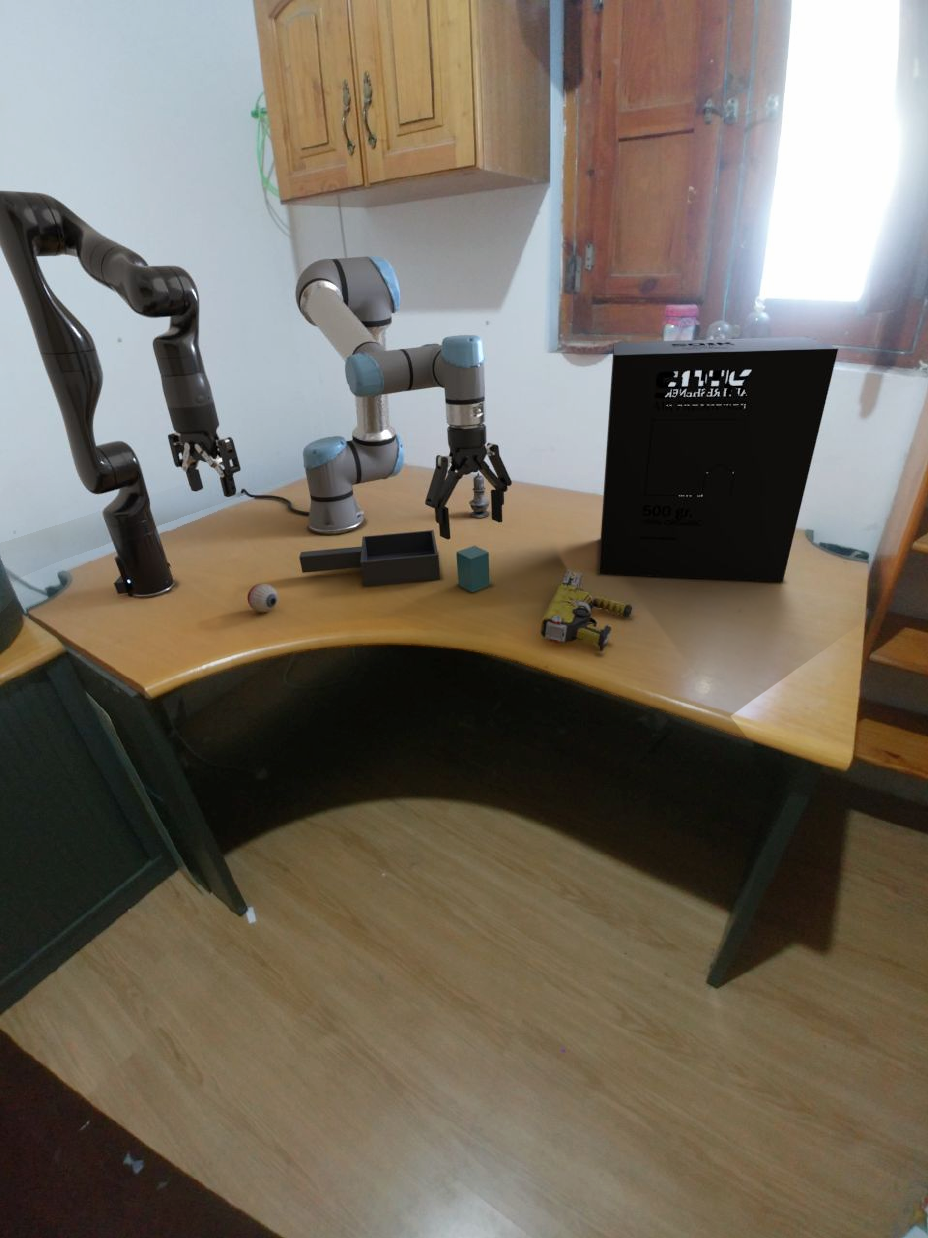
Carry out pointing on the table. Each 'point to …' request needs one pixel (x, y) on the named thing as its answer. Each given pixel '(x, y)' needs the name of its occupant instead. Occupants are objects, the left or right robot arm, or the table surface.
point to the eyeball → (262, 597)
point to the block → (473, 568)
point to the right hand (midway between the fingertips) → (471, 528)
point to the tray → (382, 558)
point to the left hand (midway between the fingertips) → (213, 492)
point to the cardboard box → (710, 455)
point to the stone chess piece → (479, 498)
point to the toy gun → (578, 614)
